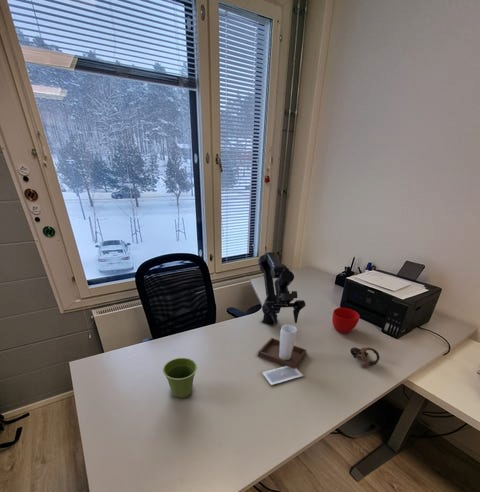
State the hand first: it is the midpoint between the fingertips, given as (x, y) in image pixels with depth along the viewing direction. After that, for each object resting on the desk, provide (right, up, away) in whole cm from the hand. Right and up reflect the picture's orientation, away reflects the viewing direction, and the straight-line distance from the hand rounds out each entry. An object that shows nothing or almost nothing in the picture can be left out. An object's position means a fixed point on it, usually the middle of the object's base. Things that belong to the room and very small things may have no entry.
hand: (286, 323), depth 119 cm
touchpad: (-3, -22, -9) cm, 24 cm away
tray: (-1, -14, +2) cm, 15 cm away
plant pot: (-42, -25, -19) cm, 53 cm away
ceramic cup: (+34, -3, +25) cm, 42 cm away
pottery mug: (+34, -17, +1) cm, 38 cm away
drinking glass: (-1, -15, 0) cm, 15 cm away
